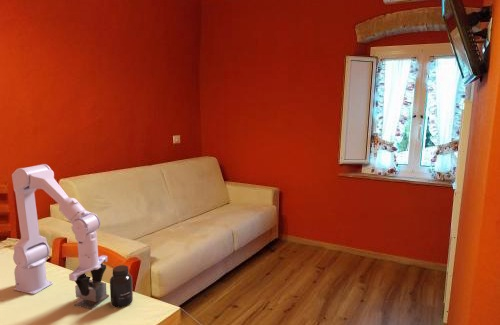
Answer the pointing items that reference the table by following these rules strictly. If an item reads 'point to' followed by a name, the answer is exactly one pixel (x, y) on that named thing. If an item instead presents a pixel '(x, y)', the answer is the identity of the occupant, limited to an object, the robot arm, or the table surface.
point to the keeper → (89, 302)
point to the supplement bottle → (121, 287)
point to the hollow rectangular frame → (93, 291)
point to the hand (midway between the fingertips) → (91, 290)
